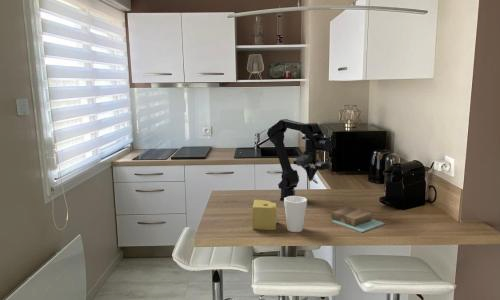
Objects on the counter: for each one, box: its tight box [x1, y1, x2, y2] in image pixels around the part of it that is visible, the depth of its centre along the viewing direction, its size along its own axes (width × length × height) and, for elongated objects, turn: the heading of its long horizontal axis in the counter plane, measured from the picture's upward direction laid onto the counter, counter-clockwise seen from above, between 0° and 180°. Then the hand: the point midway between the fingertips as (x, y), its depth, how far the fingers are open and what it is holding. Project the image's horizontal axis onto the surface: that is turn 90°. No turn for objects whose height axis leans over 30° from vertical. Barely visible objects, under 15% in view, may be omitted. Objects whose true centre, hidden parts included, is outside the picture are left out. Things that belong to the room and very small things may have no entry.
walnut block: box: [331, 206, 373, 227], centre depth 175 cm, size 4×12×12 cm
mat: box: [331, 218, 385, 233], centre depth 172 cm, size 16×16×1 cm
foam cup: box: [283, 195, 308, 233], centre depth 164 cm, size 10×9×13 cm
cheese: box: [251, 199, 278, 231], centre depth 168 cm, size 10×11×10 cm
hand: (310, 180), depth 193 cm, fingers closed
